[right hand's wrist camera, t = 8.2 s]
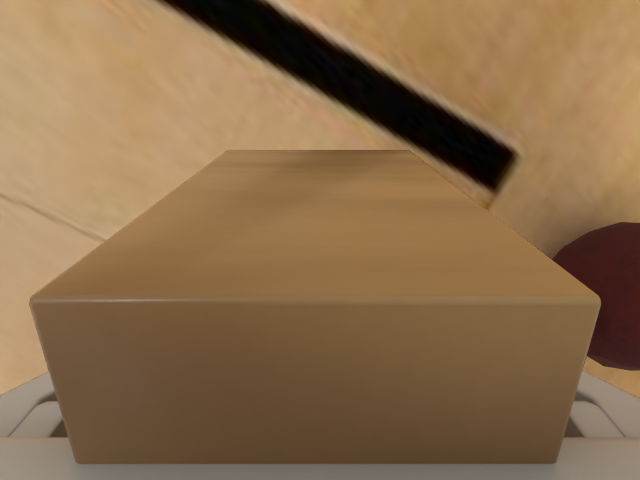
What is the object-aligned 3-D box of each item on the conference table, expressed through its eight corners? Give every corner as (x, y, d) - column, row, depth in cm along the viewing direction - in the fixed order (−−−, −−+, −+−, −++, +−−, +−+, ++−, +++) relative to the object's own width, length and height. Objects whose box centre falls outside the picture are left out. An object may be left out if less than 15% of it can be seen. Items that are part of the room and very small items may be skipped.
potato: (635, 319, 25) (745, 401, 19) (510, 321, 25) (576, 404, 19) (669, 205, 23) (811, 255, 16) (530, 207, 23) (614, 258, 16)
